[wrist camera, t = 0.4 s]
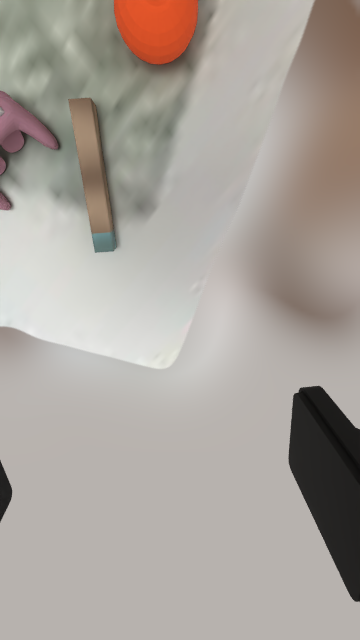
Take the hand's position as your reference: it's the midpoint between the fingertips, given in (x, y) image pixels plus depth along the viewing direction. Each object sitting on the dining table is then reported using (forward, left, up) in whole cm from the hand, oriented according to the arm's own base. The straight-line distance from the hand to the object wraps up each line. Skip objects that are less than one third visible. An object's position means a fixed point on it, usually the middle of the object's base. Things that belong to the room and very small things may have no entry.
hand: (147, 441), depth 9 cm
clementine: (-21, +2, -30) cm, 37 cm away
